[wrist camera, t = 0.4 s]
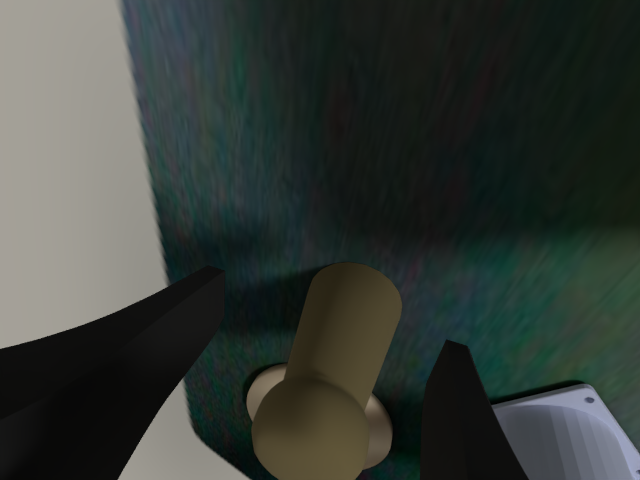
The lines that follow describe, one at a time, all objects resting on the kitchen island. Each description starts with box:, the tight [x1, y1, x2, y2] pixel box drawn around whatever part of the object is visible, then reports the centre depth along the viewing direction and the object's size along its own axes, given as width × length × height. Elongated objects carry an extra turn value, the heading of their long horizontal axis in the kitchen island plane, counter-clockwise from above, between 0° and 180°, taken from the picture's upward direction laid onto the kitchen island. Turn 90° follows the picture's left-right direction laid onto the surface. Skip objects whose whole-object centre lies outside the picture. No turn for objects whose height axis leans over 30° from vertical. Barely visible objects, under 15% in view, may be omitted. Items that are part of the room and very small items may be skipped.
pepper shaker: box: [251, 262, 402, 480], centre depth 20 cm, size 6×6×11 cm
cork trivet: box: [247, 363, 393, 470], centre depth 32 cm, size 12×12×1 cm
